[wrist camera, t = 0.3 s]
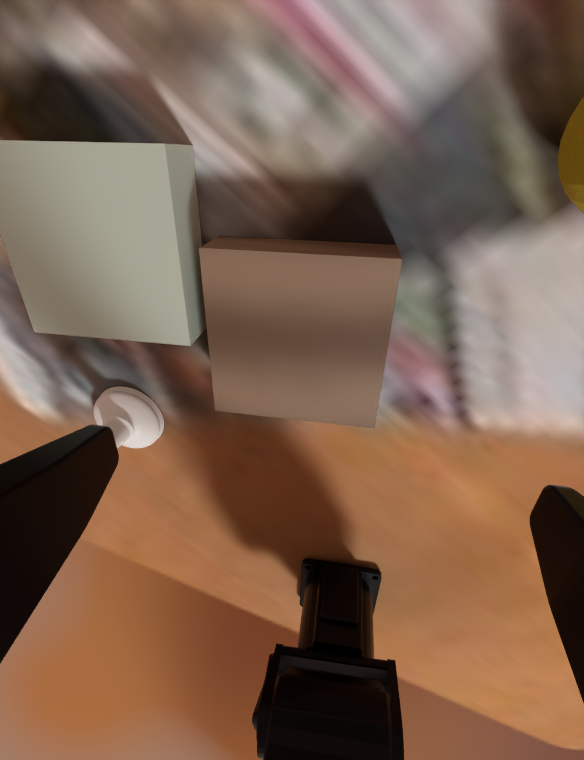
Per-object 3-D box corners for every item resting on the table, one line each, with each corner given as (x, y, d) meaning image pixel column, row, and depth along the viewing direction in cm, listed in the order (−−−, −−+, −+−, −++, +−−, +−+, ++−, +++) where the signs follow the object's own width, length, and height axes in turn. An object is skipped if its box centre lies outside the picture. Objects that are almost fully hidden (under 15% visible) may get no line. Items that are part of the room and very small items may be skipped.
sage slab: (209, 324, 23) (190, 346, 20) (69, 313, 24) (34, 332, 21) (192, 145, 18) (164, 143, 15) (20, 141, 19) (-33, 139, 17)
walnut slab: (372, 398, 23) (374, 428, 21) (230, 384, 24) (215, 410, 22) (396, 244, 19) (401, 259, 16) (219, 235, 20) (198, 247, 17)
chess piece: (172, 405, 26) (80, 526, 18) (155, 452, 29) (68, 578, 20) (104, 374, 26) (-24, 482, 17) (93, 425, 28) (-23, 541, 20)
